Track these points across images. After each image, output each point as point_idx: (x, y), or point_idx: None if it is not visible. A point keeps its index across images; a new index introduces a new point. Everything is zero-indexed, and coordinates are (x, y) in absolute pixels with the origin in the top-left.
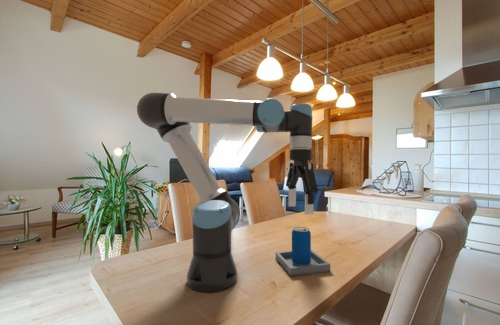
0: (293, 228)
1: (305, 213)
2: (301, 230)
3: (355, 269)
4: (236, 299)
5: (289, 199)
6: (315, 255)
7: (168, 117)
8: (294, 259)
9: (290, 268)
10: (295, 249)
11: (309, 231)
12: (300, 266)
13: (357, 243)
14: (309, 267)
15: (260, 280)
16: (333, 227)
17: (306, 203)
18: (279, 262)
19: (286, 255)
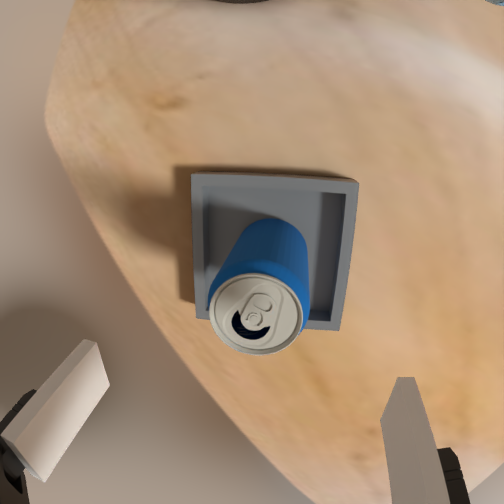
0: (281, 285)
1: (82, 343)
2: (242, 310)
3: (202, 369)
4: (129, 2)
5: (409, 427)
6: None
7: None
8: (258, 223)
9: (191, 174)
10: (246, 237)
11: (231, 341)
12: (198, 216)
13: (351, 461)
14: (193, 245)
15: (201, 68)
16: (472, 459)
17: (43, 390)
18: (309, 176)
19: (341, 224)
